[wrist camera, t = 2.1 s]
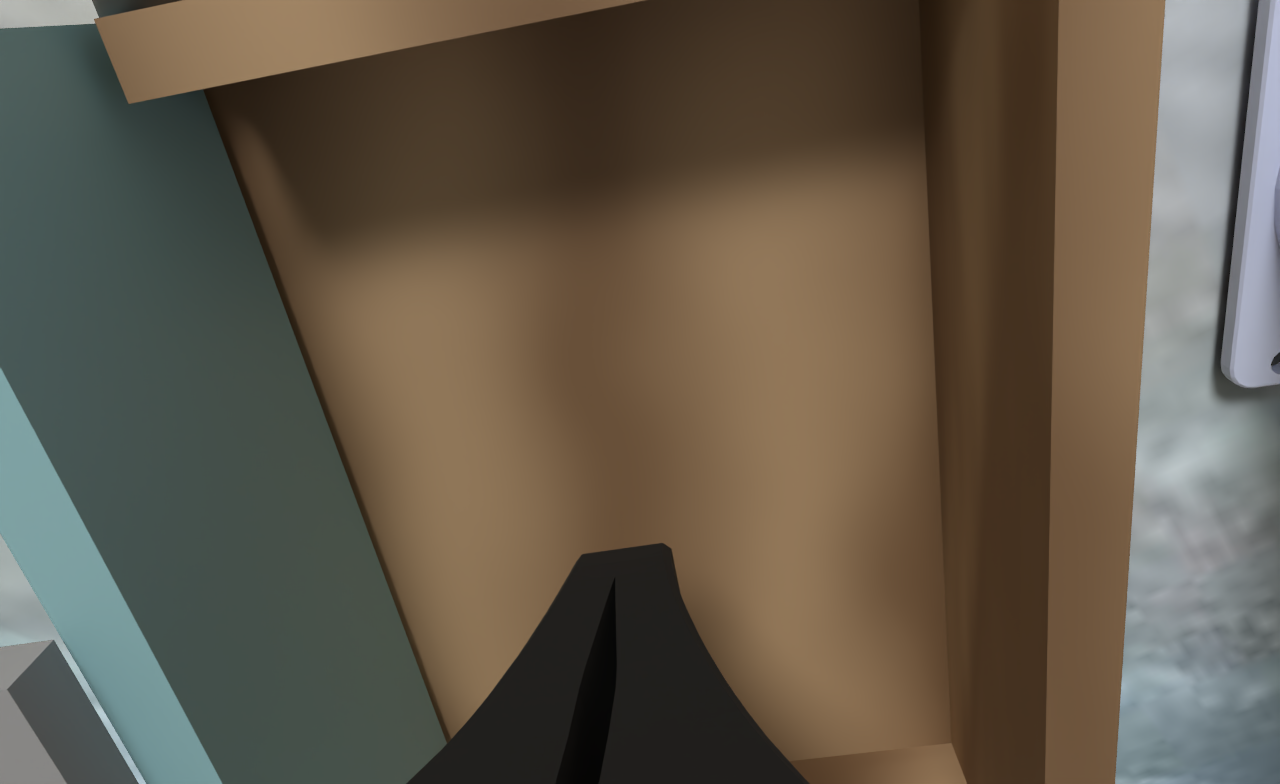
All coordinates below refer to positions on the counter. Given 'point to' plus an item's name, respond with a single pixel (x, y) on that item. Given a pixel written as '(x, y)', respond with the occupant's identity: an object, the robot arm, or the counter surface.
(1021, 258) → the cart
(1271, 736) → the counter surface
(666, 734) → the robot arm
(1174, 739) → the counter surface
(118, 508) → the tailgate
